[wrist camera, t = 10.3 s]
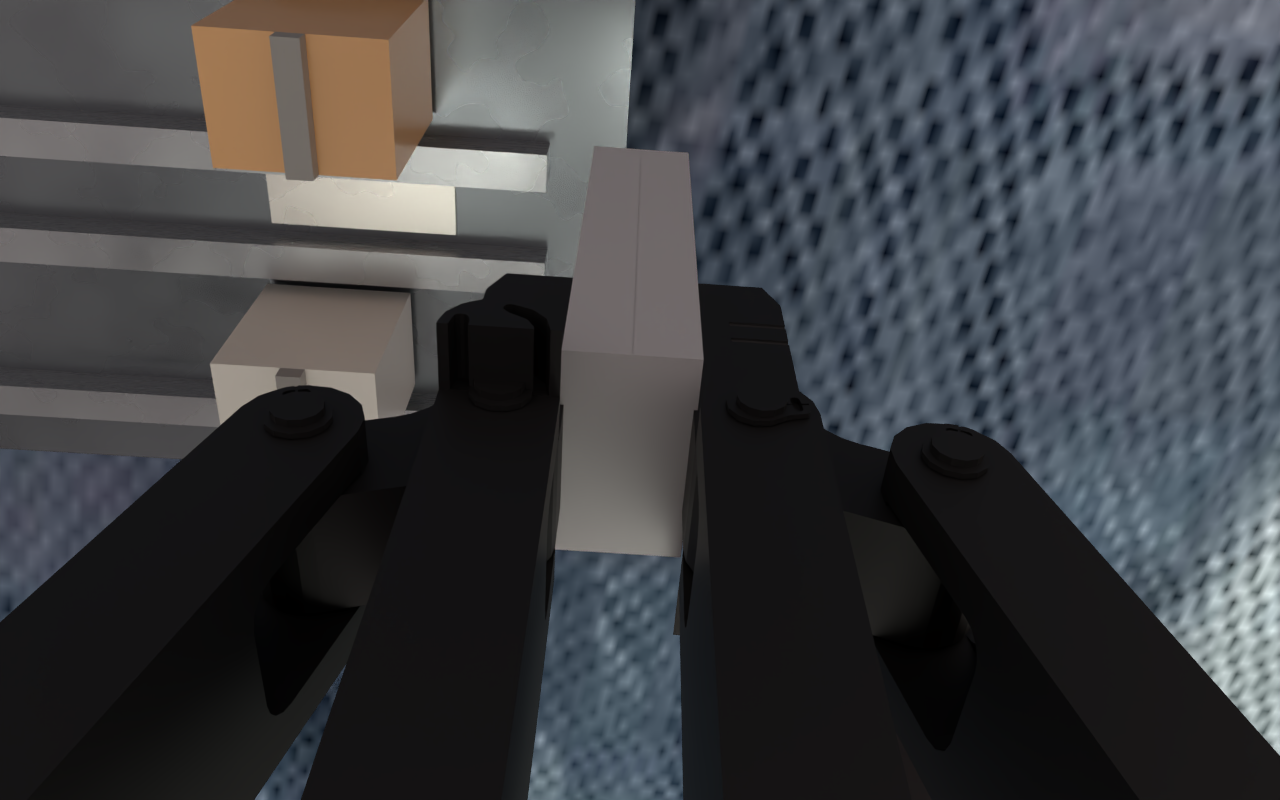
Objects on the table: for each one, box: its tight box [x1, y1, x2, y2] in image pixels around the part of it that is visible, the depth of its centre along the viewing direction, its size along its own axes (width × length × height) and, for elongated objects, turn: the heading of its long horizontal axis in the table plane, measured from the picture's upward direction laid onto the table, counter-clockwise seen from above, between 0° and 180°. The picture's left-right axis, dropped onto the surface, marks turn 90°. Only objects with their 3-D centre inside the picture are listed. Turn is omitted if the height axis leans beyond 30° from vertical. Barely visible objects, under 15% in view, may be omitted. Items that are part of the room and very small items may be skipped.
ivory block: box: [210, 284, 415, 425], centre depth 28 cm, size 4×3×5 cm
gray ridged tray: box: [0, 0, 635, 459], centre depth 28 cm, size 24×18×3 cm
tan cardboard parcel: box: [191, 0, 433, 181], centre depth 24 cm, size 4×3×5 cm
